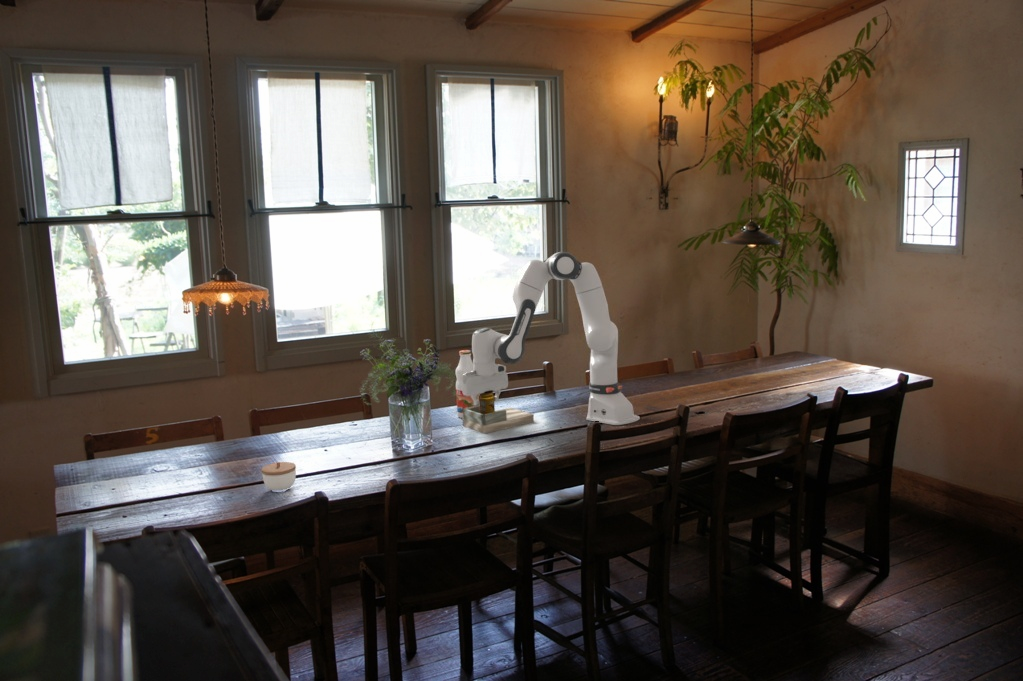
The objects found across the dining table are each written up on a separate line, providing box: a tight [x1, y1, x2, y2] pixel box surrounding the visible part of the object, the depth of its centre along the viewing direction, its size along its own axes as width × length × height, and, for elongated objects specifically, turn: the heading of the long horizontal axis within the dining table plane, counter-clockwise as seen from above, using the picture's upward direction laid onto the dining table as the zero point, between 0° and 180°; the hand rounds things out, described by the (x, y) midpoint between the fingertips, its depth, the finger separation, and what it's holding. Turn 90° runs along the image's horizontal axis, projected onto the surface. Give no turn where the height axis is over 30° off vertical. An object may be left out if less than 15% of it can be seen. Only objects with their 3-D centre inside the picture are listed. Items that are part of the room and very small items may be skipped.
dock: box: [461, 406, 535, 434], centre depth 345 cm, size 16×24×7 cm, turn 126°
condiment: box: [479, 390, 496, 415], centre depth 341 cm, size 7×8×12 cm
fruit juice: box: [454, 349, 480, 419], centre depth 358 cm, size 9×9×28 cm
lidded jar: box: [261, 461, 297, 491], centre depth 278 cm, size 11×11×9 cm
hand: (486, 402), depth 341 cm, fingers open, 8 cm apart
